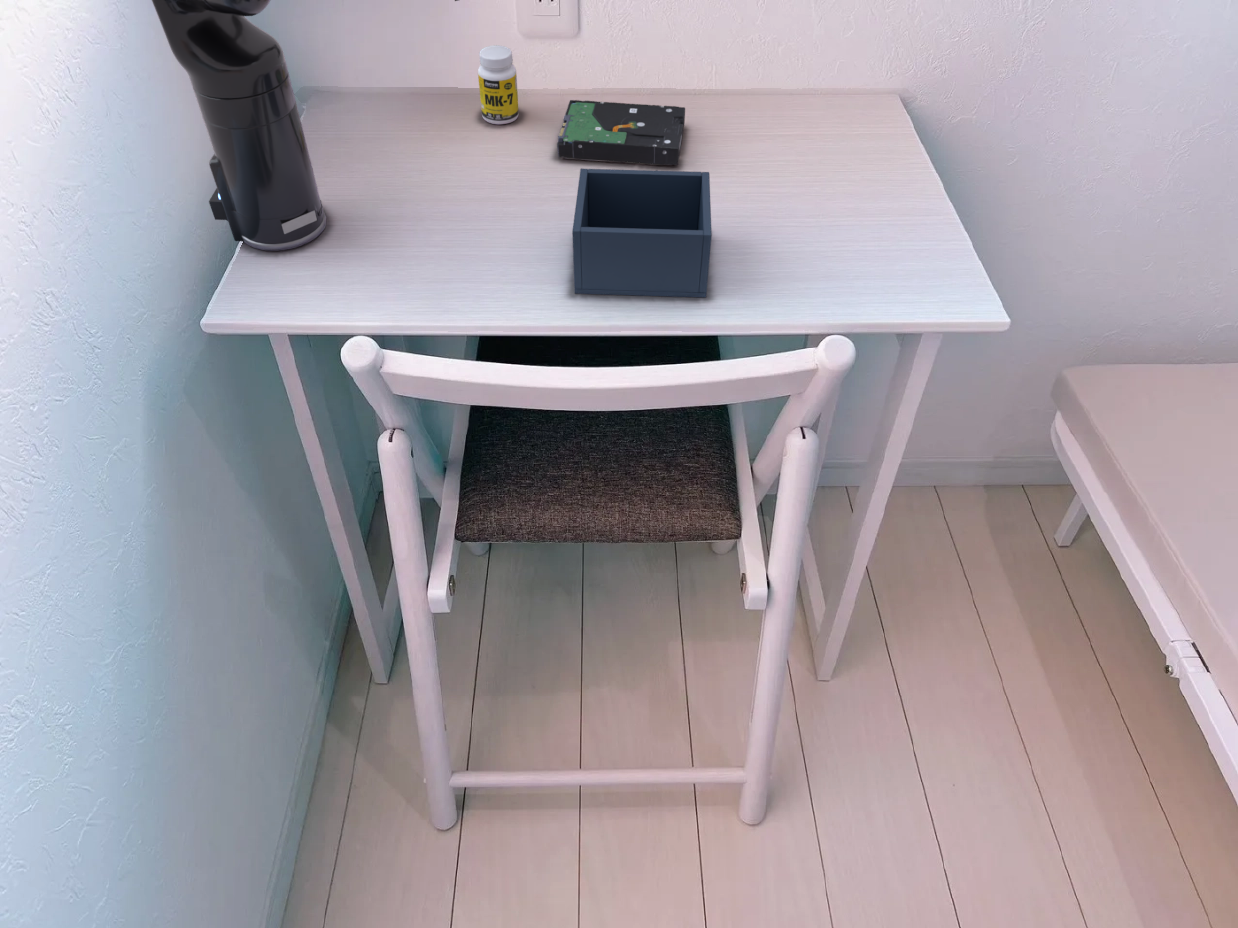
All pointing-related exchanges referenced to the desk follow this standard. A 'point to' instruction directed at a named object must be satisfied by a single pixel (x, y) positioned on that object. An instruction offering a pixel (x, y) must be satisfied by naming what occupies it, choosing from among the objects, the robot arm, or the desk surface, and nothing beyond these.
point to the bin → (642, 233)
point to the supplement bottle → (498, 85)
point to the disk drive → (622, 132)
